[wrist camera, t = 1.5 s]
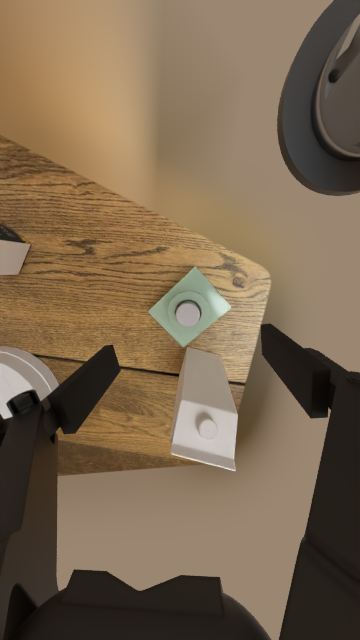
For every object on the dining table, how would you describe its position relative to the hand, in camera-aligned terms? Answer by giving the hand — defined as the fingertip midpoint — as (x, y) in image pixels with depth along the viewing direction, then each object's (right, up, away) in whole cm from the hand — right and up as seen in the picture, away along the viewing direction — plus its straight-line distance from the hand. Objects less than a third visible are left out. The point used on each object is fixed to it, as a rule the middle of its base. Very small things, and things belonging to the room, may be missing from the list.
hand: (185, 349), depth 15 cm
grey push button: (+1, +4, +12) cm, 13 cm away
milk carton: (+4, -7, +21) cm, 23 cm away
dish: (-40, -14, +27) cm, 51 cm away
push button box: (+1, +5, +18) cm, 19 cm away
